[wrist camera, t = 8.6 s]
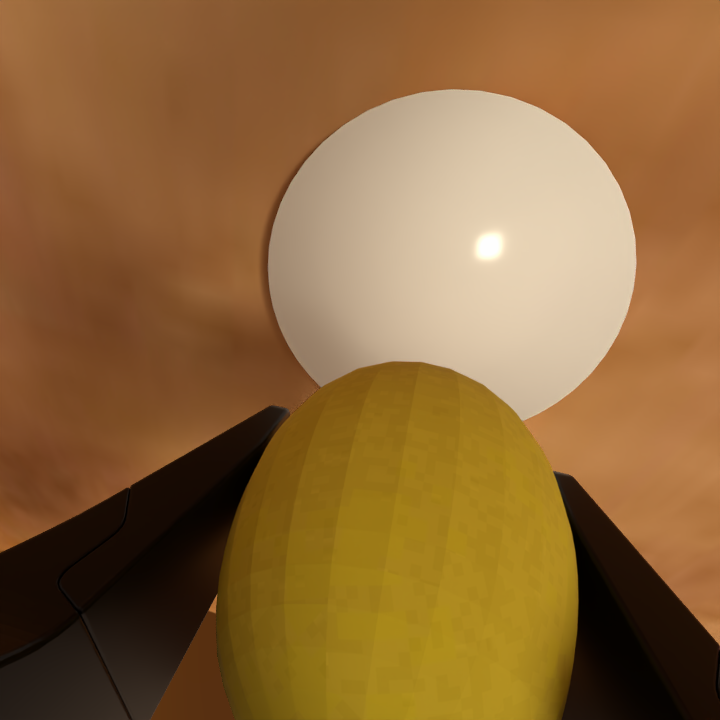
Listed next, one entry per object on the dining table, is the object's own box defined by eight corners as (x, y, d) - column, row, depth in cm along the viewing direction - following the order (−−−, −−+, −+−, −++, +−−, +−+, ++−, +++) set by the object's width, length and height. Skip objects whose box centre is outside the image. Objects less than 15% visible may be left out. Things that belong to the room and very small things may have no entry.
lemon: (444, 504, 12) (420, 966, 6) (285, 410, 12) (52, 799, 5) (589, 384, 9) (892, 1052, 3) (385, 251, 9) (140, 681, 2)
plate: (708, 121, 13) (726, 122, 12) (547, 450, 20) (551, 465, 19) (278, 66, 14) (266, 62, 14) (275, 388, 22) (268, 399, 21)
